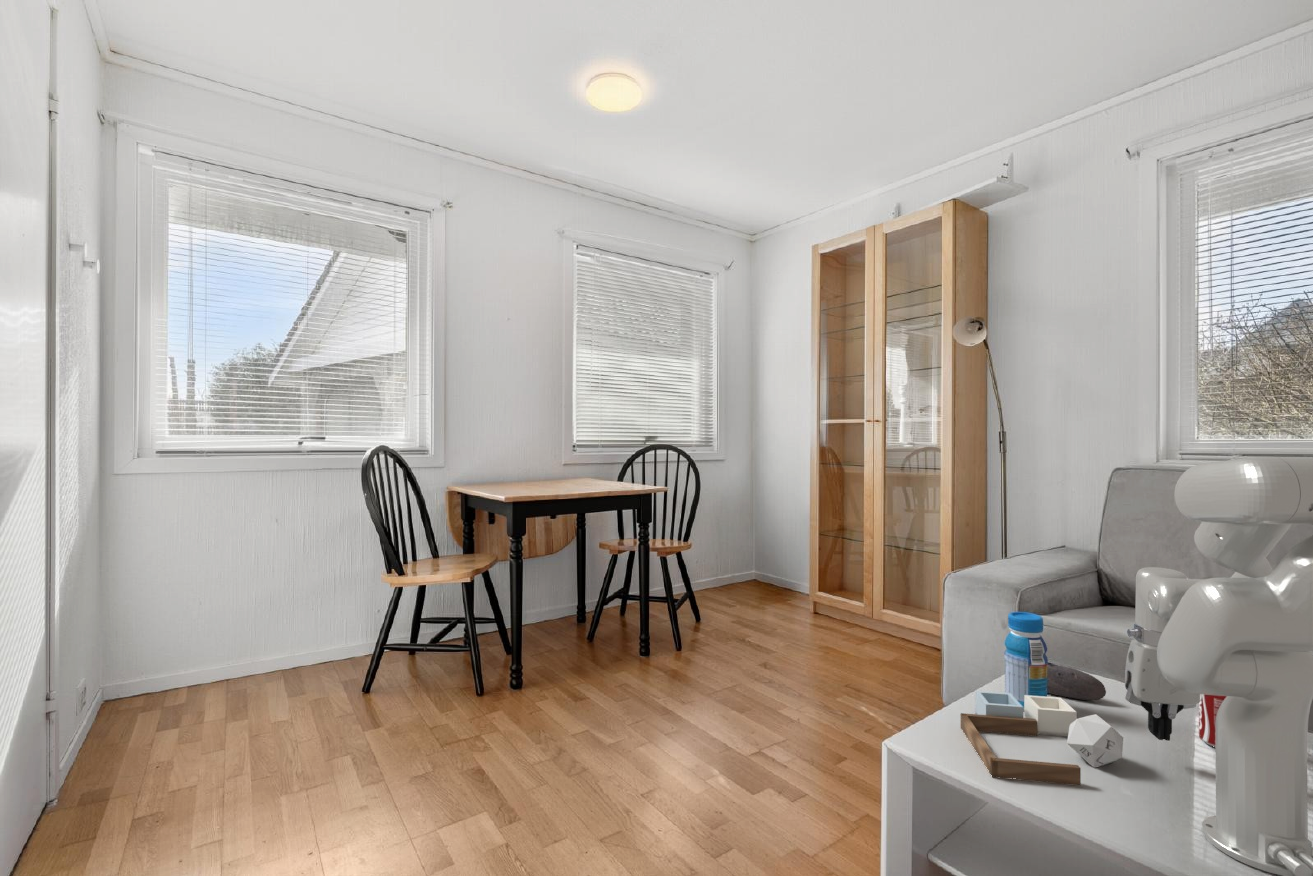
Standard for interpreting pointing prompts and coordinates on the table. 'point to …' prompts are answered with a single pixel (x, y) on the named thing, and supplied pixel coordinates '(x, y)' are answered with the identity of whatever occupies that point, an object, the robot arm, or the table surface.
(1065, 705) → the offwhite cup
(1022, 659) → the beverage bottle
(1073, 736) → the die
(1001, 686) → the table surface
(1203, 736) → the soda can
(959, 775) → the table surface
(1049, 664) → the perforated stone tool
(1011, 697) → the greyblue cup
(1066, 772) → the walnut bay
